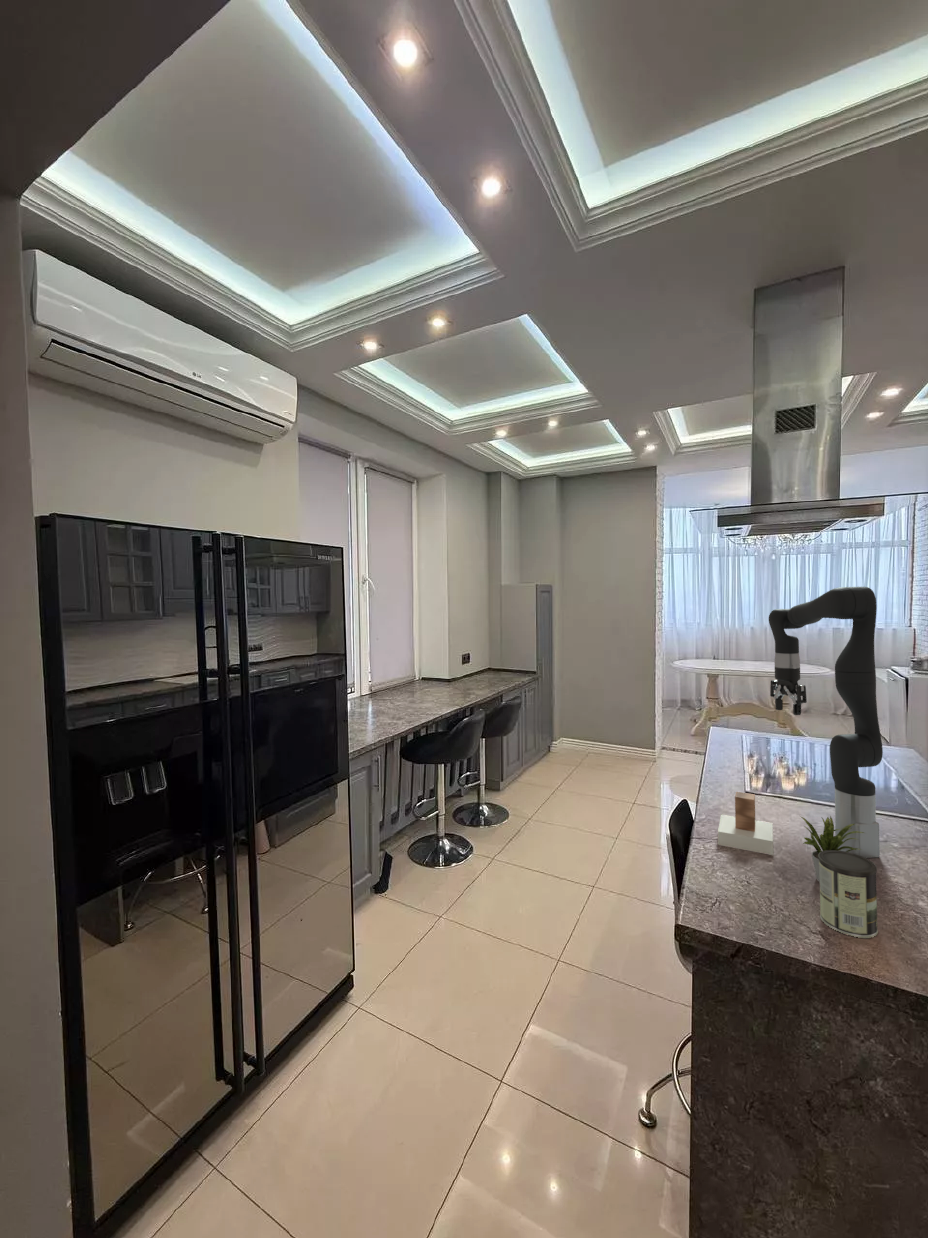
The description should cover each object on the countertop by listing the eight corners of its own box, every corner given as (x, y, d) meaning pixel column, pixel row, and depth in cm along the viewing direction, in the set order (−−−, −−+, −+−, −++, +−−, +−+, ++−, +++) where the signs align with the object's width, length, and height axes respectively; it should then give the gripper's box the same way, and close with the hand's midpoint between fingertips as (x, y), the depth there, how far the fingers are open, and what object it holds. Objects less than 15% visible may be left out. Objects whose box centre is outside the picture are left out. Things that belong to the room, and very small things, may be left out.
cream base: (772, 835, 154) (772, 822, 154) (773, 855, 142) (773, 841, 142) (721, 827, 161) (721, 814, 161) (718, 844, 149) (717, 831, 149)
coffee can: (853, 909, 116) (852, 849, 116) (890, 938, 106) (889, 872, 106) (808, 910, 116) (807, 849, 116) (840, 939, 106) (839, 873, 106)
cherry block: (755, 825, 153) (754, 794, 153) (754, 832, 148) (754, 799, 148) (736, 822, 155) (736, 791, 155) (735, 828, 151) (734, 796, 151)
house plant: (882, 902, 119) (881, 833, 118) (816, 897, 121) (815, 830, 121) (849, 871, 133) (848, 810, 132) (791, 867, 135) (790, 807, 135)
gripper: (763, 664, 182) (763, 709, 182) (792, 668, 168) (793, 717, 168) (782, 663, 183) (783, 708, 183) (813, 667, 169) (814, 716, 169)
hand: (787, 712), depth 176 cm, fingers open, 8 cm apart
